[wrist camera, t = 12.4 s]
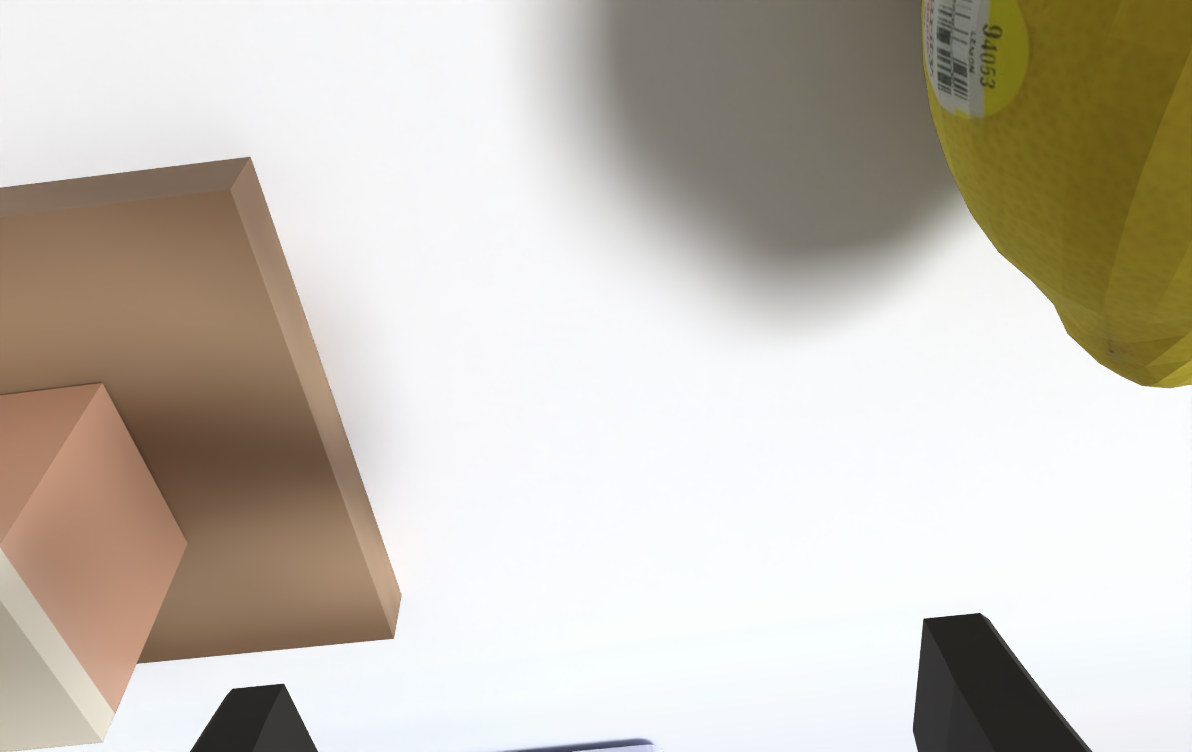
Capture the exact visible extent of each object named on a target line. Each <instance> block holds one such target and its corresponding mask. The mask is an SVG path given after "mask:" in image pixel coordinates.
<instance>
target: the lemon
mask: <svg viewBox="0 0 1192 752" xmlns="http://www.w3.org/2000/svg"><path fill="white" fill-rule="evenodd" d="M921 17H922V52H923V66H924V72H925V79H926V85H927V92H928V98H929V105H930V110H931V114H932V118H933V122H934V125H935V128H936V131H937V134H938V137H939V140H940V143H941V146H942V149H943V153H944V156H945V159H946V162H947V165H948V167H949V169H950V171H951V173H952V175H953V177H954V179H955V182H956V184H957V186H958V188H959V190H960V192H961V194H962V196H963V198H964V200H965V202H966V204H967V207H968V208H969V210H970V212H971V214H972V216H973V218H974V219H975V220H976V222H977V223H978V225H979V226H980V227H981V229H982V230H983V231H984V233H985V234H986V235H987V237H988V238H989V240H990V241H991V242H992V244H993V245H994V246H995V248H996V249H997V251H998V252H999V253H1000V254H1001V255H1002V256H1004V257H1005V258H1006V259H1007V260H1008V261H1009V262H1011V263H1012V264H1013V265H1014V266H1015V267H1016V268H1017V269H1019V270H1020V271H1021V272H1022V273H1023V274H1024V275H1026V276H1027V277H1028V278H1029V279H1030V280H1031V281H1032V282H1033V283H1034V284H1035V285H1036V286H1037V287H1038V288H1039V289H1040V290H1041V292H1042V293H1043V294H1044V295H1045V296H1046V297H1047V298H1048V299H1049V300H1050V301H1051V302H1052V303H1053V304H1054V306H1055V308H1056V310H1057V313H1058V315H1059V317H1060V319H1061V321H1062V323H1063V325H1064V327H1065V329H1066V331H1067V333H1068V335H1070V336H1071V337H1072V338H1073V339H1074V340H1075V341H1076V342H1077V343H1078V344H1079V345H1080V346H1081V347H1082V348H1084V349H1085V350H1086V351H1087V352H1088V353H1089V354H1090V355H1091V356H1092V357H1093V358H1094V359H1095V360H1096V361H1097V362H1099V363H1100V364H1101V365H1103V366H1105V367H1107V368H1108V369H1110V370H1112V371H1113V372H1115V373H1117V374H1119V375H1120V376H1122V377H1124V378H1126V379H1129V380H1131V381H1133V382H1135V383H1137V384H1139V385H1141V386H1149V387H1161V388H1174V387H1180V386H1185V385H1192V0H922V6H921Z"/></svg>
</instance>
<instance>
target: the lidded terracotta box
mask: <svg viewBox="0 0 1192 752" xmlns="http://www.w3.org/2000/svg"><path fill="white" fill-rule="evenodd" d="M187 544H188V543H187V541H186V539H185V537H184V536H183V534H182V532H181V530H180V528H179V526H178V524H177V522H176V520H175V519H174V517H173V515H172V513H171V511H170V509H169V507H168V505H167V504H166V502H165V500H164V498H163V496H162V494H161V492H160V490H159V489H158V487H157V485H156V483H155V481H154V479H153V477H152V475H151V473H150V472H149V470H148V468H147V466H146V464H145V462H144V460H143V458H142V457H141V455H140V453H139V451H138V449H137V447H136V445H135V443H134V441H133V440H132V438H131V436H130V434H129V432H128V430H127V428H126V426H125V425H124V423H123V421H122V419H121V417H120V415H119V413H118V411H117V410H116V408H115V406H114V404H113V402H112V400H111V398H110V396H109V394H108V393H107V391H106V389H105V387H104V385H103V383H97V384H89V385H80V386H72V387H64V388H56V389H48V390H39V391H31V392H23V393H15V394H6V395H0V752H10V751H20V750H31V749H41V748H51V747H61V746H72V745H82V744H92V743H102V742H103V741H104V739H105V737H106V734H107V732H108V730H109V727H110V725H111V722H112V720H113V718H114V715H115V713H116V711H117V708H118V706H119V704H120V701H121V699H122V697H123V694H124V692H125V690H126V687H127V685H128V682H129V680H130V678H131V675H132V673H133V671H134V668H135V666H136V664H137V661H138V659H139V657H140V654H141V652H142V650H143V647H144V645H145V642H146V640H147V638H148V635H149V633H150V631H151V628H152V626H153V624H154V621H155V619H156V617H157V614H158V612H159V610H160V607H161V605H162V602H163V600H164V598H165V595H166V593H167V591H168V588H169V586H170V584H171V581H172V579H173V577H174V574H175V572H176V569H177V567H178V565H179V562H180V560H181V558H182V555H183V553H184V551H185V548H186V546H187Z"/></svg>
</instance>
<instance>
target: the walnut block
mask: <svg viewBox="0 0 1192 752" xmlns="http://www.w3.org/2000/svg"><path fill="white" fill-rule="evenodd" d="M97 383H103V385H104V387H105V389H106V391H107V393H108V394H109V396H110V398H111V400H112V402H113V404H114V406H115V408H116V410H117V411H118V413H119V415H120V417H121V419H122V421H123V423H124V425H125V426H126V428H127V430H128V432H129V434H130V436H131V438H132V440H133V441H134V443H135V445H136V447H137V449H138V451H139V453H140V455H141V457H142V458H143V460H144V462H145V464H146V466H147V468H148V470H149V472H150V473H151V475H152V477H153V479H154V481H155V483H156V485H157V487H158V489H159V490H160V492H161V494H162V496H163V498H164V500H165V502H166V504H167V505H168V507H169V509H170V511H171V513H172V515H173V517H174V519H175V520H176V522H177V524H178V526H179V528H180V530H181V532H182V534H183V536H184V537H185V539H186V541H187V543H188V544H187V546H186V548H185V551H184V553H183V555H182V558H181V560H180V562H179V565H178V567H177V569H176V572H175V574H174V577H173V579H172V581H171V584H170V586H169V588H168V591H167V593H166V595H165V598H164V600H163V602H162V605H161V607H160V610H159V612H158V614H157V617H156V619H155V621H154V624H153V626H152V628H151V631H150V633H149V635H148V638H147V640H146V642H145V645H144V647H143V650H142V652H141V654H140V657H139V659H138V661H137V664H138V663H149V662H159V661H169V660H180V659H190V658H200V657H210V656H221V655H231V654H241V653H252V652H262V651H272V650H282V649H293V648H303V647H313V646H323V645H334V644H344V643H354V642H365V641H375V640H385V639H394V635H395V629H396V624H397V618H398V612H399V607H400V601H401V592H400V589H399V586H398V583H397V581H396V578H395V575H394V572H393V569H392V566H391V563H390V560H389V557H388V554H387V552H386V549H385V546H384V543H383V540H382V537H381V534H380V531H379V528H378V525H377V523H376V520H375V517H374V514H373V511H372V508H371V505H370V502H369V499H368V496H367V494H366V491H365V488H364V485H363V482H362V479H361V476H360V473H359V470H358V467H357V465H356V462H355V459H354V456H353V453H352V450H351V447H350V444H349V441H348V438H347V436H346V433H345V430H344V427H343V424H342V421H341V418H340V415H339V412H338V409H337V407H336V404H335V401H334V398H333V395H332V392H331V389H330V386H329V383H328V380H327V377H326V375H325V372H324V369H323V366H322V363H321V360H320V357H319V354H318V351H317V348H316V346H315V343H314V340H313V337H312V334H311V331H310V328H309V325H308V322H307V319H306V317H305V314H304V311H303V308H302V305H301V302H300V299H299V296H298V293H297V290H296V288H295V285H294V282H293V279H292V276H291V273H290V270H289V267H288V264H287V261H286V259H285V256H284V253H283V250H282V247H281V244H280V241H279V238H278V235H277V232H276V230H275V227H274V224H273V221H272V218H271V215H270V212H269V209H268V206H267V203H266V201H265V198H264V195H263V192H262V189H261V186H260V183H259V180H258V177H257V174H256V171H255V169H254V166H253V163H252V160H251V157H245V158H237V159H229V160H221V161H213V162H205V163H197V164H189V165H180V166H172V167H164V168H156V169H148V170H140V171H132V172H124V173H116V174H108V175H100V176H92V177H84V178H76V179H68V180H60V181H52V182H43V183H35V184H27V185H19V186H11V187H3V188H0V395H6V394H15V393H23V392H31V391H39V390H48V389H56V388H64V387H72V386H80V385H89V384H97Z"/></svg>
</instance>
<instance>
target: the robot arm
mask: <svg viewBox="0 0 1192 752" xmlns="http://www.w3.org/2000/svg"><path fill="white" fill-rule="evenodd" d="M913 733H914V737H915V741H916V745H917V750H918V752H1092V751H1091V749H1090V748H1089V747H1088V746H1087V745H1086V744H1085V742H1084V741H1083V740H1082V739H1081V738H1080V736H1079V735H1078V734H1077V733H1076V732H1075V730H1074V729H1073V728H1072V727H1071V726H1070V724H1069V723H1068V722H1067V721H1066V719H1065V718H1064V717H1063V716H1062V714H1061V713H1060V712H1059V711H1058V709H1057V708H1056V707H1055V706H1054V705H1053V703H1052V702H1051V701H1050V700H1049V698H1048V697H1047V696H1046V695H1045V693H1044V692H1043V691H1042V690H1041V688H1040V687H1039V686H1038V684H1037V683H1036V682H1035V681H1034V679H1033V678H1032V677H1031V675H1030V674H1029V673H1028V672H1027V670H1026V669H1025V668H1024V666H1023V665H1022V664H1021V662H1020V661H1019V660H1018V658H1017V657H1016V656H1015V654H1014V653H1013V652H1012V650H1011V649H1010V648H1009V646H1008V645H1007V644H1006V642H1005V641H1004V640H1003V638H1002V637H1001V636H1000V634H999V633H998V631H997V630H996V629H995V627H994V626H993V624H992V623H991V622H990V620H989V619H988V618H986V617H985V616H983V615H982V614H981V613H975V614H966V615H956V616H946V617H936V618H926V619H923V629H922V640H921V650H920V660H919V671H918V681H917V691H916V702H915V712H914V722H913ZM190 752H318V751H317V749H316V747H315V745H314V743H313V741H312V739H311V737H310V735H309V733H308V731H307V729H306V727H305V725H304V723H303V721H302V719H301V717H300V715H299V713H298V711H297V709H296V707H295V705H294V703H293V701H292V699H291V697H290V695H289V693H288V691H287V689H286V687H285V685H284V684H276V685H266V686H256V687H246V688H236V689H232V690H231V691H230V692H229V693H228V694H227V696H226V697H225V698H224V700H223V702H222V703H221V705H220V706H219V708H218V709H217V711H216V712H215V714H214V715H213V717H212V718H211V720H210V722H209V723H208V725H207V726H206V728H205V729H204V731H203V732H202V734H201V736H200V737H199V739H198V740H197V742H196V743H195V745H194V746H193V748H192V750H191V751H190ZM574 752H664V751H663V749H661V748H660V747H658V746H655V745H636V746H626V747H615V748H605V749H594V750H584V751H574Z"/></svg>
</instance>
